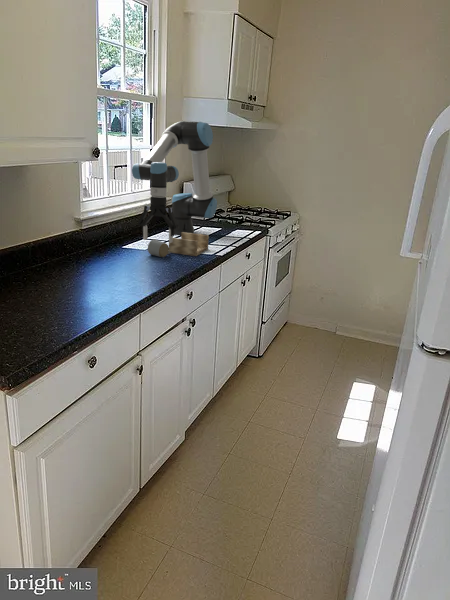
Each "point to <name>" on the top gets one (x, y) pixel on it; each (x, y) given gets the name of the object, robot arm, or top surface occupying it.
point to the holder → (189, 244)
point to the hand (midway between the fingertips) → (157, 241)
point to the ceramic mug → (158, 248)
